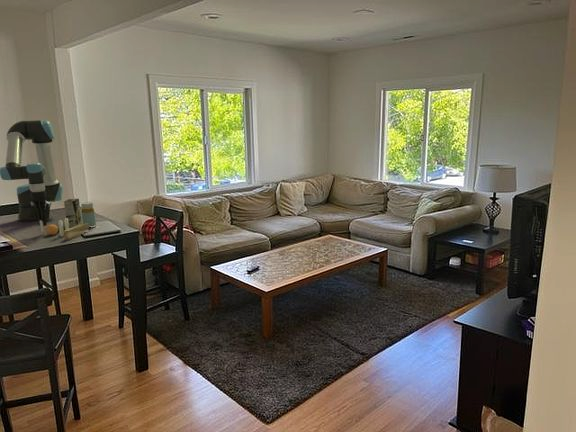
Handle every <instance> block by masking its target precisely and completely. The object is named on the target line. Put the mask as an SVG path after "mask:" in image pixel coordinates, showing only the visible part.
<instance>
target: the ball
mask: <svg viewBox="0 0 576 432" xmlns="http://www.w3.org/2000/svg"><path fill="white" fill-rule="evenodd" d="M58 231H59V227H58V226H57V225H56V224H49V225H48V224H47V225H46V231H45V232H46V234H47V235H50V236H51V235H52V236H54V235H56V234H57V233H58Z"/></svg>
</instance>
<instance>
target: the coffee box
mask: <svg viewBox="0 0 576 432" xmlns="http://www.w3.org/2000/svg"><path fill="white" fill-rule="evenodd" d="M63 206H64V212H65V218H68V223H69V228H72V227H75V226H77V225H80V224H82V223H83V219H82V211H81V206H80V198H70V199H67V200H64V201H63Z"/></svg>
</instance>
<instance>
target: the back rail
mask: <svg viewBox="0 0 576 432" xmlns="http://www.w3.org/2000/svg"><path fill="white" fill-rule="evenodd" d="M88 229H89V230H90V228H89V225H88V223H83V222H82V224H80V225H77V226H75V227H69V229H67V230H66V229H65V230H64V229H63V230H64V236H63V237H64V240H65V241H68V240H69V241H71V240H72V239H75V238H78V237H79V236H82V235H83V234H82V233H83V232H84V231H86V230H88ZM81 234H82V235H81Z"/></svg>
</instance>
